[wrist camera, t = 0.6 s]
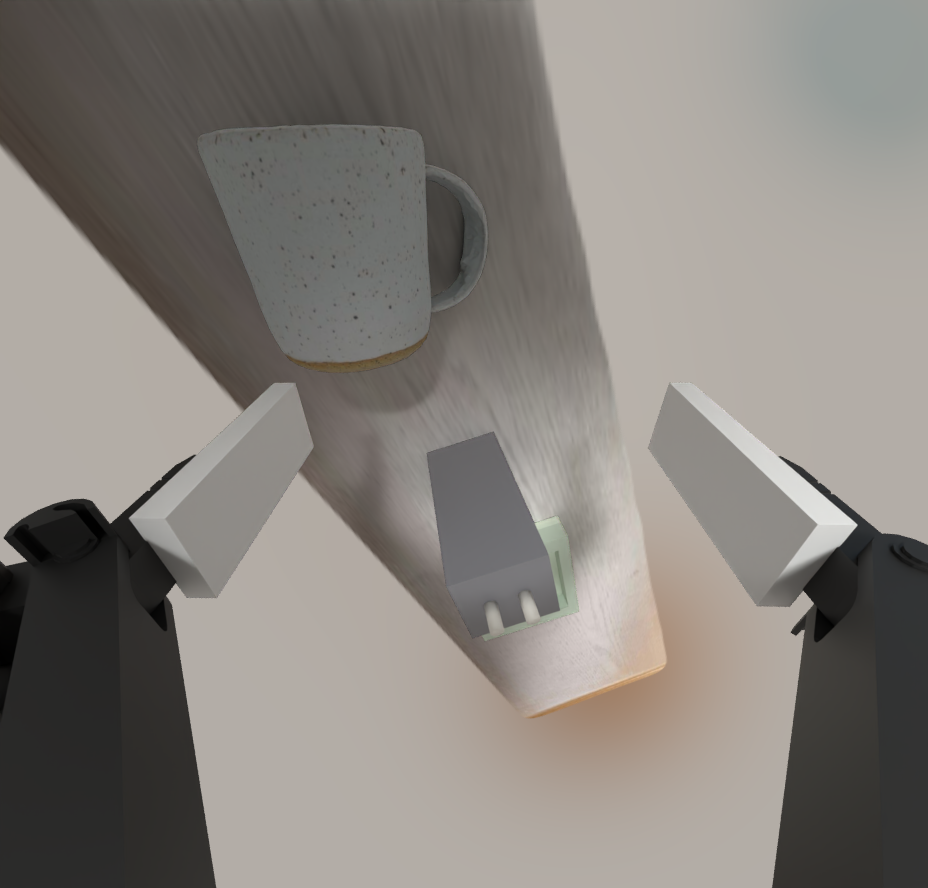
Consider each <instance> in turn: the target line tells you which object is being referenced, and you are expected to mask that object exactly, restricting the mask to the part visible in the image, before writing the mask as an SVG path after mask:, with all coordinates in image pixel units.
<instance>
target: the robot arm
mask: <svg viewBox="0 0 928 888" xmlns="http://www.w3.org/2000/svg"><path fill="white" fill-rule="evenodd" d="M313 447H314V445H313V442H312V439H311V435H310V432H309V428H308V425H307V421H306V418H305V415H304V411H303V408H302V404H301V401H300V397H299V394H298V390H297V387H296V384H295V383H273V384H272V385H271V386H270V387H269V388H268V389H267V390H266V391H265V392H264V393H263V394H262V395H261V396H259V397H258V398H257V399H256V400H255V401H254V402H253V403H252V404H251V405H250V406H249V407H248V408H247V409H246V410H244V411H243V412H242V413H241V414H240V415H239V416H238V417H237V418H236V419H235V420H234V421H233V422H232V423H231V424H229V425H228V426H227V427H226V428H225V429H224V430H223V431H222V432H221V433H220V434H219V435H218V436H217V437H216V438H214V440H212V441H211V442H210V443H209V444H208V445H207V446H206V447H205V448H204V449H203V450H202V451H200V452H199V453H198V454H197V455H193V456H191V457H189V458H188V459H186V460H184V461H182V462H181V463H179V464H177V465H175V466H174V467H173V468H172V469H171V470H170V471H169V472H168V473H166V474H165V475H164V476H163V477H162V480H159V481H158V482H156V483H155V484H154V485H153V486H152V487H151V488H150V491H147V492H145V493H144V494H143V495H142V496H141V497H140V498H139V499H138V500H136V501H135V502H134V503H133V504H132V505H131V506H130V507H129V508H128V509H126V510H125V511H124V512H123V513H122V514H121V515H120V516H119V517H118V518H117V519H115V520H114V521H113V522H112V523H111V524H109V522H108V521H107V520H106V518H105V517H104V516H103V514H102V513H101V512H100V511H99V509H98V508H97V507H96V506H95V504H94V503H93V502H92V501H90V500H87V499H72V500H67V501H63V502H59V503H55V504H52V505H50V506H47V507H45V508H42V509H40V510H37V511H36V512H34V513H32V514H30V515H28V516H27V517H25V518H23V519H21V520H20V521H19V522H18V523H16V524H15V525H14V526H13V527H12V528H10V529H9V531H8V532H7V534H6V535H5V537H4V539H5V540H6V541H7V542H8V543H9V544H10V545H11V546H13V548H14V549H15V550H16V551H17V552H18V553H20V554H21V555H22V556H23V557H24V558H25V559H26V560H27V562H23V563H18V564H13V565H9V566H5V565H4V564H3V563H2V562H1V561H0V888H216V884H215V878H214V871H213V864H212V858H211V852H210V845H209V839H208V833H207V826H206V820H205V813H204V807H203V801H202V794H201V788H200V781H199V775H198V769H197V762H196V756H195V749H194V744H193V737H192V731H191V724H190V718H189V712H188V705H187V698H186V692H185V686H184V679H183V673H182V666H181V660H180V654H179V647H178V641H177V634H176V628H175V622H174V615H173V609H172V604H171V603H170V601H169V599H168V598H167V597H166V595H167V594H168V592H169V591H170V590H171V588H172V587H173V586H174V584H175V583H176V584H177V585H178V587H179V588H180V589H181V591H182V592H183V593H184V594H185V596H186V597H187V598H217V597H218V595H219V594H220V593H221V591H222V589H223V588H224V586H225V585H226V583H227V582H228V580H229V578H230V577H231V575H232V574H233V572H234V571H235V569H236V568H237V566H238V564H239V563H240V561H241V560H242V558H243V556H244V555H245V554H246V552H247V550H248V549H249V547H250V546H251V544H252V543H253V541H254V539H255V538H256V536H257V534H258V533H259V532H260V530H261V528H262V527H263V525H264V524H265V522H266V521H267V519H268V518H269V516H270V515H271V513H272V511H273V510H274V508H275V507H276V505H277V504H278V502H279V500H280V499H281V497H282V496H283V494H284V493H285V491H286V490H287V488H288V486H289V485H290V483H291V482H292V480H293V479H294V477H295V475H296V474H297V472H298V471H299V469H300V468H301V466H302V465H303V463H304V461H305V460H306V458H307V457H308V455H309V454H310V452H311V451H312V449H313ZM648 449H649V450H650V452H651V453H652V455H653V456H654V458H655V459H656V460H657V462H658V463H659V464H660V466H661V468H662V469H663V471H664V472H665V474H666V475H667V476H668V478H669V479H670V481H671V482H672V484H673V485H674V487H675V488H676V489H677V491H678V492H679V494H680V495H681V497H682V498H683V500H684V501H685V503H686V504H687V505H688V507H689V508H690V510H691V511H692V513H693V514H694V515H695V517H696V518H697V520H698V521H699V523H700V524H701V526H702V527H703V529H704V530H705V531H706V533H707V534H708V536H709V537H710V538H711V540H712V542H713V543H714V545H715V546H716V547H717V549H718V550H719V552H720V553H721V555H722V556H723V558H724V559H725V561H726V562H727V563H728V565H729V566H730V568H731V569H732V571H733V572H734V574H735V575H736V577H737V578H738V579H739V581H740V582H741V584H742V585H743V587H744V588H745V590H746V591H747V592H748V594H749V595H750V597H751V598H752V600H753V601H754V603H755V604H756V606H778V607H780V606H781V607H790V606H791V605H792V603H793V602H794V601H795V600H796V599H797V597H798V596H799V595H800V594H801V592H802V591H804V592H805V593H806V594H807V595H808V597H809V598H810V599H811V600H812V601H813V602H814V605H813V606H812V607H811V608H810V609H809V610H808V612H807V613H806V614H805V615H804V616H803V617H802V618H801V619H800V621H799V622H798V623H797V624H796V625H795V626H794V628H793V629H792V631H791V633H792V634H794V635H797V634H798V633H799V632H800V631H801V630H805V633H804V640H803V648H802V656H801V664H800V672H799V680H798V688H797V696H796V703H795V711H794V719H793V727H792V736H791V743H790V751H789V759H788V768H787V775H786V783H785V791H784V799H783V807H782V814H781V822H780V830H779V839H778V846H777V854H776V862H775V870H774V878H773V886H772V888H928V545H926V544H924V543H921V542H919V541H917V540H915V539H911V538H908V537H904V536H901V535H895V534H881V533H880V532H879V531H878V530H877V529H875V528H874V527H873V526H872V525H871V524H869V523H868V522H867V521H866V520H865V519H863V518H862V517H861V516H860V515H858V514H857V513H856V512H855V511H854V510H852V509H851V508H850V507H849V506H848V505H846V504H845V503H844V502H843V501H841V500H840V499H839V498H838V497H837V496H836V495H834V494H831V492H830V490H828V489H827V488H826V487H825V486H824V485H822V484H821V483H818V482H817V480H816V479H815V478H814V477H813V476H811V475H810V474H809V473H808V472H806V471H805V470H804V469H803V468H802V467H800V466H798V465H796V464H794V463H792V462H790V461H789V460H787V459H785V458H783V457H781V456H777V455H776V454H774V453H773V452H772V451H771V450H770V449H768V448H767V447H766V446H765V445H764V444H763V443H762V442H760V441H759V440H758V439H757V438H756V437H755V436H753V435H752V434H751V433H750V432H749V431H748V430H746V429H745V428H744V427H743V426H742V425H740V424H739V423H738V422H737V421H736V420H735V419H734V418H732V417H731V416H730V415H729V414H728V413H727V412H725V411H724V410H723V409H722V408H721V407H720V406H718V405H717V404H716V403H715V402H714V401H713V400H711V399H710V398H709V397H708V396H707V395H706V394H704V393H703V392H702V391H701V390H700V389H699V388H697V387H696V386H695V385H694V384H693V383H669V385H668V389H667V392H666V395H665V398H664V401H663V404H662V407H661V410H660V413H659V416H658V419H657V422H656V425H655V428H654V431H653V435H652V438H651V441H650V444H649V447H648Z"/></svg>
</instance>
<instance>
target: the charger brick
mask: <svg viewBox="0 0 928 888" xmlns="http://www.w3.org/2000/svg"><path fill="white" fill-rule="evenodd" d="M427 459H428V466H429V473H430V480H431V487H432V493H433V500H434V507H435V514H436V520H437V527H438V534H439V541H440V548H441V554H442V561H443V568H444V575H445V582H446V587H447V589H448V591H449V593H450V595H451V597H452V599H453V601H454V603H455V605H456V607H457V609H458V611H459V613H460V615H461V617H462V619H463V621H464V623H465V625H466V627H467V629H468V630H469V632H470V634H471V636H472V638H475V637H478V636H482V635H485V634H488V633H490V635H492V636H499V635H501V634H503V633H504V631H505V630H504V628H507V627H510V626H513V625H516V624H519V623H523V622H526V623H527V624H529V625H534V624H536V623H538V622H539V621H540V620H541V618H540V617H542V616H545V615H548V614H551V613H554V612H557V611H560V607H559V602H558V597H557V592H556V587H555V583H554V578H553V573H552V568H551V563H550V558H549V554H548V552H547V550H546V547H545V545H544V543H543V541H542V539H541V536H540V534H539V532H538V530H537V527H536V525H535V523H534V521H533V519H532V516H531V514H530V512H529V510H528V507H527V505H526V503H525V501H524V498H523V496H522V494H521V492H520V490H519V487H518V485H517V483H516V481H515V478H514V476H513V474H512V472H511V470H510V467H509V465H508V463H507V461H506V458H505V456H504V454H503V452H502V450H501V447H500V445H499V443H498V441H497V438H496V436H495V434H494V432H491V433H488V434H485V435H482V436H479V437H476V438H473V439H469V440H466V441H463V442H460V443H457V444H454V445H451V446H448V447H445V448H441V449H438V450H435V451H432V452H429V453H427Z"/></svg>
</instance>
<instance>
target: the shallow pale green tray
mask: <svg viewBox="0 0 928 888" xmlns="http://www.w3.org/2000/svg"><path fill="white" fill-rule="evenodd" d="M535 525H536V527H537V530H538V532H539V534H540V536H541V539H542V541H543V543H544V545H545V547H546V550H547V552H548V554H549V558H550V563H551V568H552V573H553V578H554V583H555V587H556V592H557V597H558V602H559V607H560V611H557V612H554V613H551V614H548V615H545V616H542V617H540V618H541V620H540V621H539V622H538V623H536V624H534V625H529V624H527V623H526V622H523V623H519V624H516V625H513V626H510V627H507V628H504V630H505V631H504V633H503V634H501V635H499V636H492V635H490V633H488V634H485V635H482V637H483V639H484V641H488V640H491V639H494V638H497V637H500V636H503V635H507V634H510V633H513V632H516V631H519V630H522V629H526V628H529V627H532V626H535V625H538V624H541V623H545V622H548V621H551V620H554V619H557V618H560V617H564V616H567V615H570V614H573V613H576V612H579V606H578V600H577V593H576V586H575V580H574V573H573V566H572V560H571V553H570V546H569V540H568V535H567V533H566V531H565V529H564V527H563V526H562V524H561V522H560V520H559V518H558V516H555V517H552V518H549V519H546V520H543V521H539V522H536V523H535Z"/></svg>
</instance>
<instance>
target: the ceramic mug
mask: <svg viewBox="0 0 928 888" xmlns="http://www.w3.org/2000/svg"><path fill="white" fill-rule="evenodd" d="M197 147H198V152H199V154H200V156H201V159H202V161H203V163H204V166H205V168H206V171H207V173H208V176H209V178H210V181H211V183H212V186H213V188H214V190H215V193H216V195H217V198H218V201H219V203H220V206H221V208H222V210H223V213H224V216H225V218H226V221H227V224H228V227H229V229H230V231H231V234H232V237H233V239H234V242H235V245H236V247H237V249H238V252H239V254H240V257H241V259H242V262H243V264H244V267H245V269H246V271H247V274H248V275H249V278H250V281H251V283H252V286H253V289H254V292H255V294H256V297H257V300H258V303H259V305H260V308H261V310H262V313H263V316H264V318H265V320H266V322H267V325H268V327H269V330H270V331H271V333H272V335H273V337H274V338H275V340H276V342H277V343H278V345H279V347H280V348H281V350H282V352H283V353H284V354H285V355H286V356H287V357H288V358H289V359H290V360H291V361H293V362H294V363H296V364H298V365H300V366H302V367H305V368H307V369H311V370H316V371H321V372H329V373H348V372H358V371H365V370H371V369H375V368H378V367H382V366H386V365H390V364H393V363H395V362H398V361H400V360H402V359H404V358H407V357H408V356H410V355H411V354H412V353H414V352H415V351H416V350H417V349H418V348H420V347H421V345H422V344H423V342H424V341H425V340H426V338H427V335H428V331H429V326H430V317H431V312H438V311H441V310H446V309H447V308H450V307H452V306H455V305H456V304H458V303H459V302H460V301H462V300H463V299H465V298H466V297H467V296H468V295H469V294H470V293H471V291H472V290H473V288H474V287H475V285H476V284H477V282H478V280H479V278H480V276H481V274H482V271H483V268H484V264H485V259H486V256H487V247H488V225H487V218H486V214H485V211H484V208H483V205H482V203H481V201H480V200H479V198H478V197H477V195H476V194H475V192H474V191H473V190H472V188H471V187H470V186H469V185H468V184H466V182H465V181H464V180H463V179H461V178H460V177H458V176H456V175H455V174H453V173H451V172H449V171H447V170H445V169H442V168H439V167H436V166H433V165H427V164H425V152H424V144H423V140H422V136H421V134H420V133H418V132H417V131H416V130H412V129H406V128H402V127H387V126H367V125H339V124H327V125H294V126H285V125H283V126H275V127H249V128H228V129H221V130H216V131H213V132H211V133H206V134H202V135H200V136H199V138H198V139H197ZM426 179H428V180H432V181H434V182H436V183H438V184H440V185H442V186H443V187H445V188H447V189H448V190H449V191H450V192H451V193H452V194H453V195H454V196H455V197H456V198H457V200H458V201H459V203H460V205H461V208H462V214H463V216H464V225H465V226H464V246H463V256H462V259H461V261H460V265H461V272H460V274H459V276H458V278H457V279H456V280H455V281H454V283H453V284H452V285H451V286H450V287H449V288H448V289H446V290H445V291H443V292H441V293H440V294H438V295H435V296H433V297H431V286H430V274H429V264H428V238H427V207H426Z"/></svg>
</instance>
